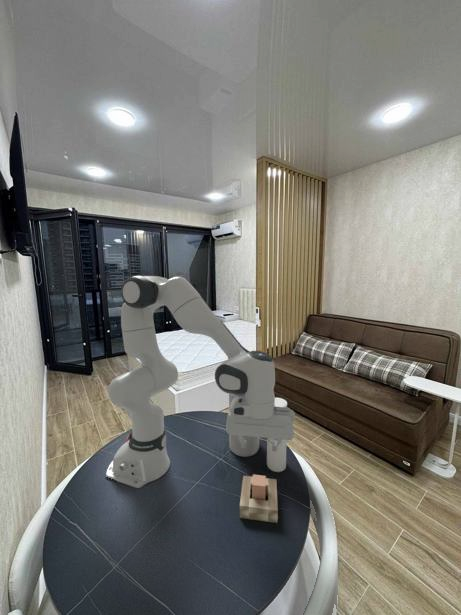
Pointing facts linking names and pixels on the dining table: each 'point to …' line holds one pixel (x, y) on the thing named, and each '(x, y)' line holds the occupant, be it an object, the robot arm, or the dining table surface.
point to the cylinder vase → (251, 442)
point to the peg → (258, 487)
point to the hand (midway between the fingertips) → (259, 448)
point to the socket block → (259, 502)
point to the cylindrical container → (277, 458)
